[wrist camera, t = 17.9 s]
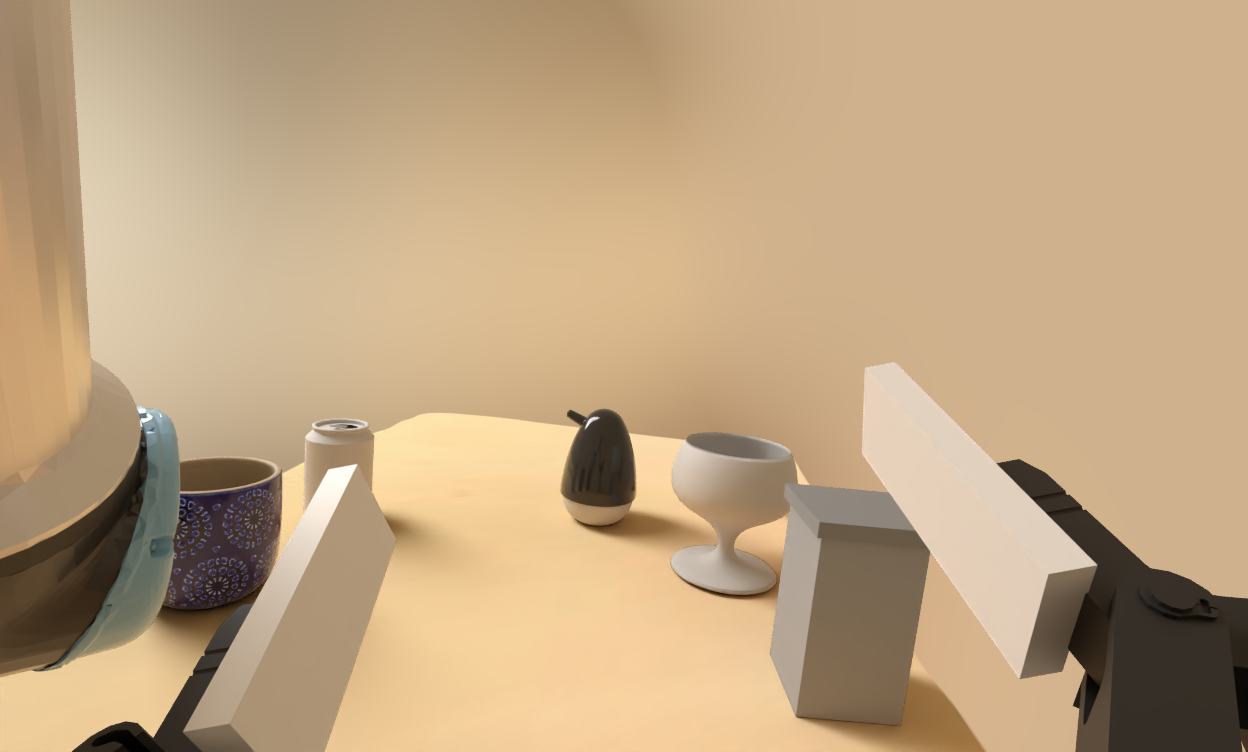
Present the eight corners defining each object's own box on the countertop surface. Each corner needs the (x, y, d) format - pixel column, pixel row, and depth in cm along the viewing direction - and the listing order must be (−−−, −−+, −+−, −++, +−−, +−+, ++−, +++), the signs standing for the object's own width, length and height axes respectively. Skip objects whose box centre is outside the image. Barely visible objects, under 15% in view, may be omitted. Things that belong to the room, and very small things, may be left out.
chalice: (642, 577, 65) (656, 444, 63) (685, 536, 78) (697, 424, 76) (771, 617, 59) (790, 471, 57) (794, 565, 72) (811, 445, 70)
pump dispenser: (571, 500, 87) (579, 398, 85) (640, 512, 85) (650, 408, 83) (545, 524, 77) (554, 409, 75) (622, 539, 75) (634, 421, 73)
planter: (237, 554, 62) (238, 449, 60) (305, 585, 57) (308, 472, 55) (108, 596, 52) (105, 472, 50) (177, 638, 47) (176, 503, 46)
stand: (910, 730, 45) (944, 533, 43) (791, 720, 44) (819, 522, 42) (862, 658, 53) (888, 492, 51) (762, 649, 53) (785, 483, 51)
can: (382, 511, 76) (386, 420, 75) (349, 534, 69) (353, 433, 67) (327, 504, 77) (330, 413, 75) (288, 525, 70) (291, 425, 68)
